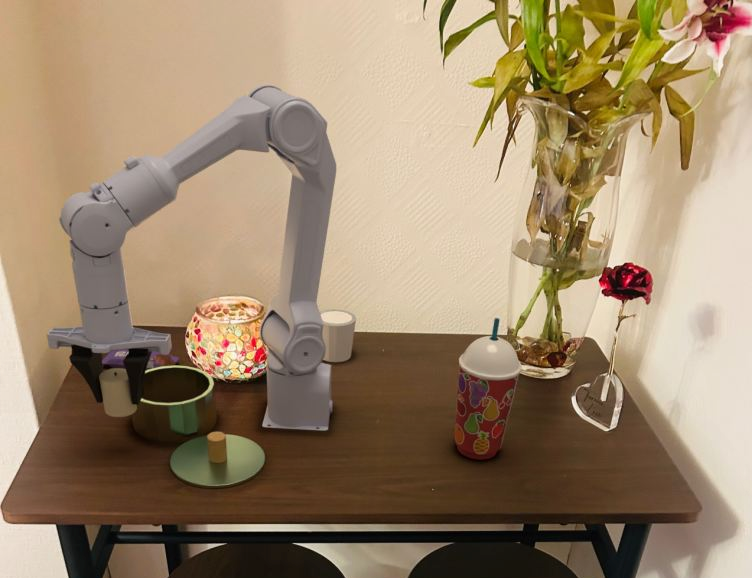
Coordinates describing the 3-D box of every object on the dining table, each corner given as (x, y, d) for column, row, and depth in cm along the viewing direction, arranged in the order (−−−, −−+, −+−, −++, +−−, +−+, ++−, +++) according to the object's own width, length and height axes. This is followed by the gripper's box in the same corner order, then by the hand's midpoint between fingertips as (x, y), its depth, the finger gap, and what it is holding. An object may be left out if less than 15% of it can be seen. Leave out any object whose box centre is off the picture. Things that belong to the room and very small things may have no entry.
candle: (140, 402, 102) (135, 366, 99) (132, 418, 99) (126, 380, 96) (110, 401, 102) (104, 364, 99) (100, 416, 99) (94, 378, 96)
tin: (222, 406, 116) (220, 367, 113) (208, 447, 107) (204, 407, 103) (145, 401, 116) (140, 363, 112) (123, 442, 107) (117, 402, 103)
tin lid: (270, 443, 109) (270, 414, 106) (258, 494, 99) (257, 465, 96) (182, 438, 108) (179, 409, 106) (160, 489, 98) (156, 459, 96)
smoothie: (511, 441, 113) (534, 313, 102) (499, 471, 106) (523, 337, 95) (456, 429, 115) (473, 302, 104) (440, 457, 108) (457, 324, 97)
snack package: (98, 357, 123) (110, 344, 127) (99, 368, 124) (112, 355, 128) (169, 365, 122) (179, 352, 126) (170, 376, 123) (180, 362, 127)
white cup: (314, 346, 136) (314, 308, 132) (353, 346, 136) (354, 309, 132) (315, 363, 130) (315, 324, 126) (356, 364, 131) (357, 325, 127)
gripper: (29, 309, 89) (51, 412, 96) (156, 316, 89) (168, 418, 97) (51, 287, 94) (70, 385, 102) (170, 293, 95) (180, 391, 103)
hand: (119, 399), depth 100 cm, fingers closed on candle, 4 cm apart
